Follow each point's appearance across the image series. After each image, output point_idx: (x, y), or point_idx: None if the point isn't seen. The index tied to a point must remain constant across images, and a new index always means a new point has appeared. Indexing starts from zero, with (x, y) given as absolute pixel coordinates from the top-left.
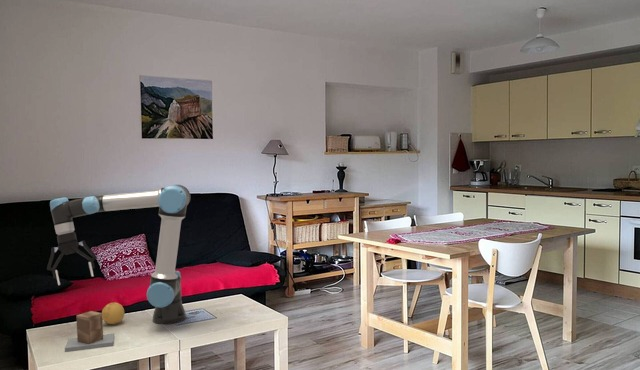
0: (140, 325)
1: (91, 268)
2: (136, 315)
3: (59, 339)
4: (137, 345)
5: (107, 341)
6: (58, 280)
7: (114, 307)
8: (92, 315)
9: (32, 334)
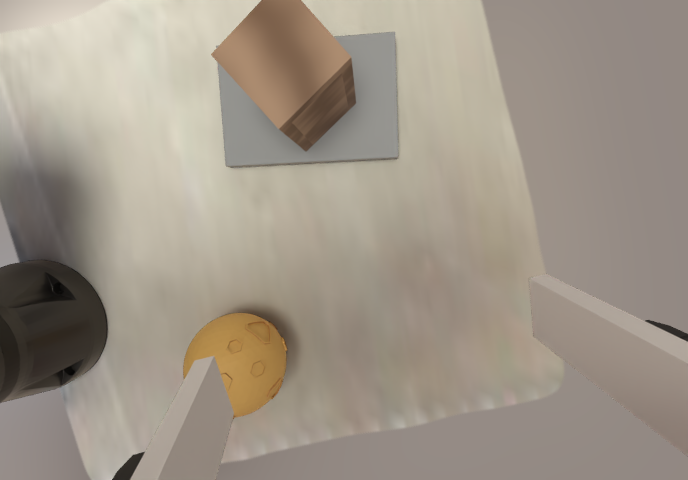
0: (149, 282)
1: (163, 431)
2: None
3: (436, 211)
4: (135, 25)
5: None
6: (573, 294)
7: (210, 346)
8: (258, 19)
9: None
